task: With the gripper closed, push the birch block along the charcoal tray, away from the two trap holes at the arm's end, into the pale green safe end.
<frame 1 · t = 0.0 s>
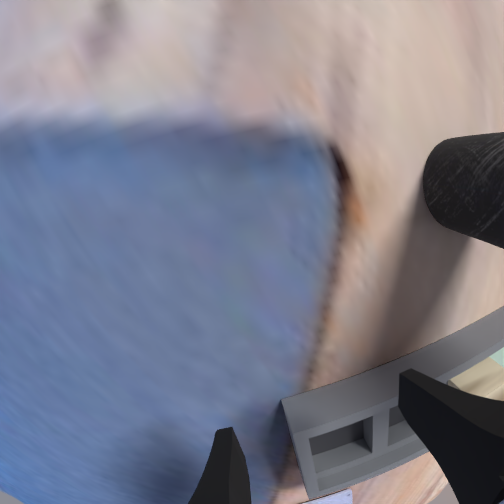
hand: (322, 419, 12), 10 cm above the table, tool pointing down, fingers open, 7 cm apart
travel mug: (454, 183, 21), on the table
birch block: (465, 387, 23), point 2 cm above the table, touching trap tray
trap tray: (427, 386, 25), on the table
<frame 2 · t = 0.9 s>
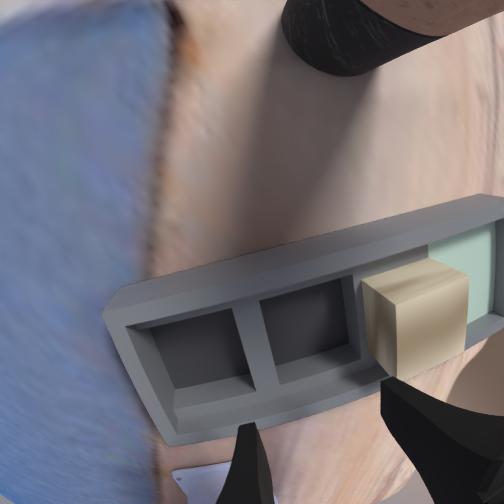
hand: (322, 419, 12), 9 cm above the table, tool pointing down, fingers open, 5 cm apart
travel mug: (333, 30, 17), on the table
birch block: (399, 304, 19), point 2 cm above the table, touching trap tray
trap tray: (342, 304, 21), on the table
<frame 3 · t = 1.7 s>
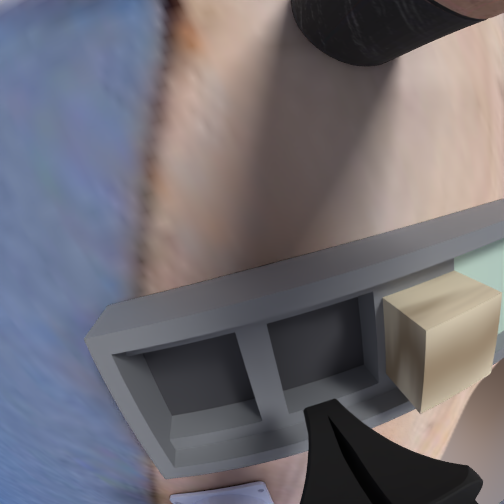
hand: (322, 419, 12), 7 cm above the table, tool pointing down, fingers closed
travel mug: (348, 16, 14), on the table
birch block: (421, 323, 16), point 2 cm above the table, touching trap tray
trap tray: (358, 322, 18), on the table
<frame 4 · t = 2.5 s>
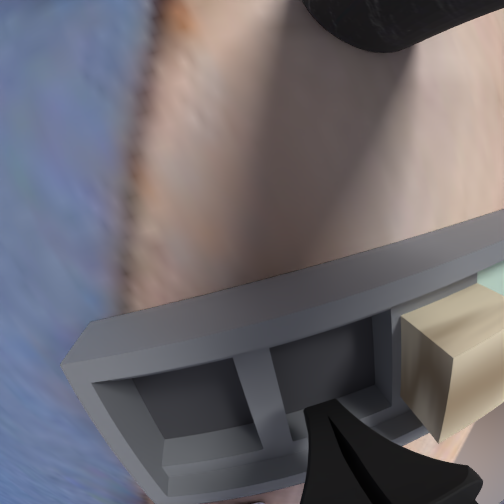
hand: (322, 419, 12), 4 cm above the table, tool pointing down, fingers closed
birch block: (441, 341, 14), point 2 cm above the table, touching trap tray
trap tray: (370, 340, 16), on the table
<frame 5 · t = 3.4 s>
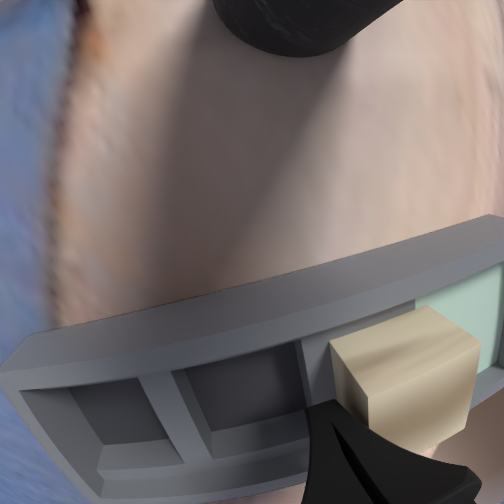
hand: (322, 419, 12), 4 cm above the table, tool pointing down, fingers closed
birch block: (383, 366, 14), point 3 cm above the table, touching gripper
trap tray: (297, 364, 16), on the table
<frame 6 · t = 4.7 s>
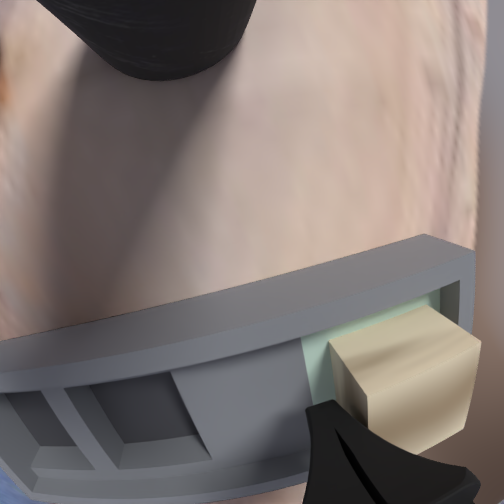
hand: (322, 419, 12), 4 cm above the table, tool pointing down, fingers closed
travel mug: (170, 16, 12), on the table
birch block: (382, 366, 14), point 2 cm above the table, touching gripper, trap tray
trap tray: (194, 390, 16), on the table
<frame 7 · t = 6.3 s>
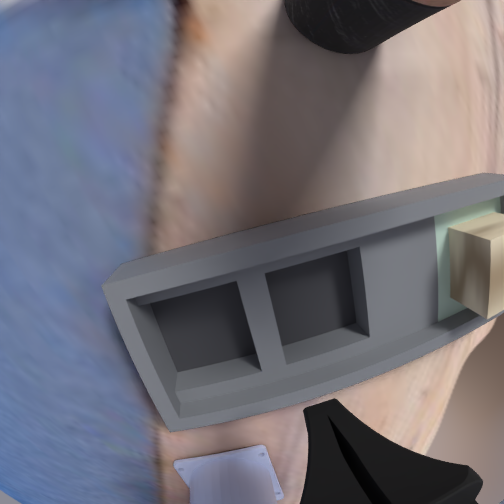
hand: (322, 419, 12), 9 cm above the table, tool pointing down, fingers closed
travel mug: (335, 10, 16), on the table
birch block: (474, 253, 19), point 2 cm above the table, touching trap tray
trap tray: (349, 281, 21), on the table
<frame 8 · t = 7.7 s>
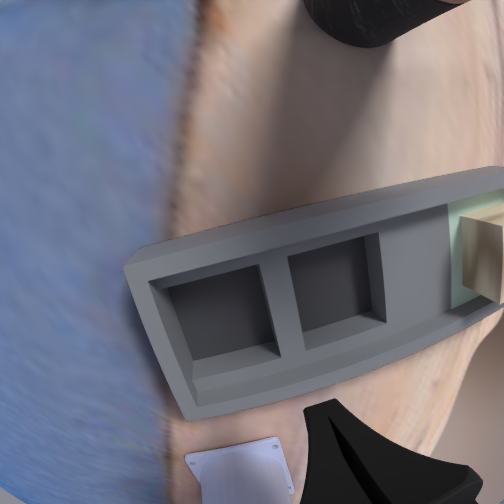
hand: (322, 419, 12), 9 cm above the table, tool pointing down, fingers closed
travel mug: (351, 6, 17), on the table
birch block: (484, 242, 19), point 2 cm above the table, touching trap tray
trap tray: (365, 268, 21), on the table
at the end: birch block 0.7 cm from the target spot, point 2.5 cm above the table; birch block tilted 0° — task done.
